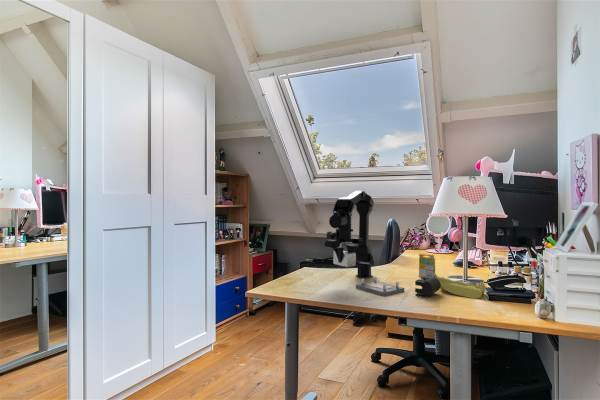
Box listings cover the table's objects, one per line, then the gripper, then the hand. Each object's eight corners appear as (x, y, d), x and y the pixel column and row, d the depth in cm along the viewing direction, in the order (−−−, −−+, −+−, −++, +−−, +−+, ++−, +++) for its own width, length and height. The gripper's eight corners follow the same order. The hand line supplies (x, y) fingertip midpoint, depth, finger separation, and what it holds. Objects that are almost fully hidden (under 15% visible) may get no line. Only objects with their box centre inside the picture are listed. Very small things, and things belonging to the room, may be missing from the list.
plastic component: (486, 288, 154) (483, 281, 146) (483, 305, 151) (480, 299, 144) (437, 278, 165) (432, 271, 157) (434, 294, 163) (429, 288, 155)
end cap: (431, 299, 144) (432, 282, 144) (414, 295, 149) (414, 279, 149) (440, 294, 152) (441, 277, 152) (424, 291, 156) (424, 275, 156)
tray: (375, 284, 168) (375, 275, 168) (404, 291, 155) (404, 282, 155) (355, 288, 160) (355, 279, 160) (384, 296, 148) (384, 286, 148)
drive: (341, 262, 166) (341, 250, 166) (355, 265, 159) (355, 252, 159) (333, 263, 163) (333, 251, 163) (347, 267, 156) (347, 253, 156)
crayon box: (435, 277, 183) (435, 254, 183) (433, 278, 180) (434, 255, 180) (420, 275, 187) (420, 253, 187) (418, 277, 184) (419, 254, 184)
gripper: (347, 224, 173) (347, 257, 173) (316, 226, 162) (316, 261, 162) (364, 226, 164) (364, 260, 164) (333, 228, 153) (333, 265, 153)
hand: (344, 261), depth 161 cm, fingers closed on drive, 5 cm apart
